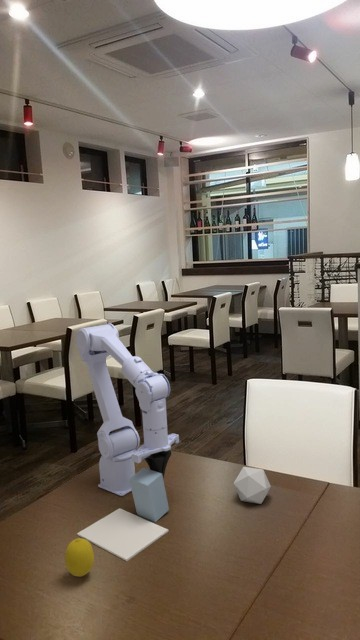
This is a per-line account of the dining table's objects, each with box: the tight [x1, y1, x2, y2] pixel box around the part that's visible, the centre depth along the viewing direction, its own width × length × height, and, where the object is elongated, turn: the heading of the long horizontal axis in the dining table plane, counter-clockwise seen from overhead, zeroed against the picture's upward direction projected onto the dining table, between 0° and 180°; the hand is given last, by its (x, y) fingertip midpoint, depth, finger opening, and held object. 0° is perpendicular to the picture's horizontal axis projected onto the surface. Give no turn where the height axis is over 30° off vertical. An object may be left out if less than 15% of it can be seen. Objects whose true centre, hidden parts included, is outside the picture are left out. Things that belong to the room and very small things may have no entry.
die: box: [233, 466, 272, 505], centre depth 121 cm, size 8×9×10 cm
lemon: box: [64, 537, 95, 578], centre depth 96 cm, size 6×6×8 cm
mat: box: [76, 507, 170, 562], centre depth 110 cm, size 16×13×1 cm
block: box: [129, 467, 170, 523], centre depth 116 cm, size 6×5×10 cm
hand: (158, 480), depth 119 cm, fingers closed
